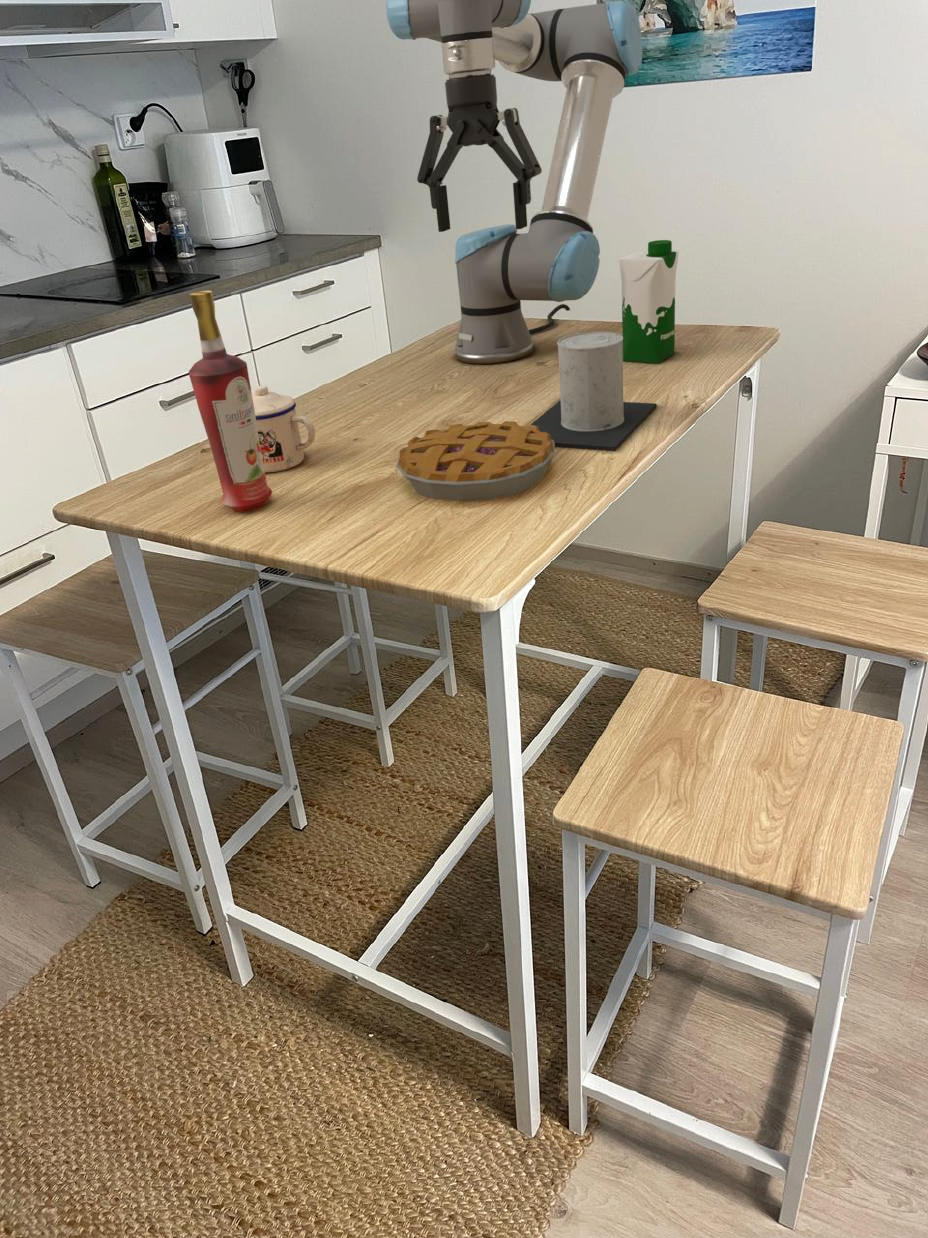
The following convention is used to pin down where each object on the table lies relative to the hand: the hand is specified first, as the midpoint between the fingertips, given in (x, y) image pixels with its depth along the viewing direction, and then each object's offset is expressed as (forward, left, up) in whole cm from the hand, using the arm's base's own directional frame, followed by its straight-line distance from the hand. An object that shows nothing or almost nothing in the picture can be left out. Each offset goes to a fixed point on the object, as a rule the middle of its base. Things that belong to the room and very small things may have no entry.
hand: (482, 229), depth 149 cm
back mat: (+12, +21, -27) cm, 36 cm away
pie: (+35, +14, -27) cm, 46 cm away
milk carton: (-26, +19, -27) cm, 42 cm away
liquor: (+52, -13, -27) cm, 60 cm away
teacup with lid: (+37, -18, -27) cm, 49 cm away
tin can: (+12, +22, -26) cm, 36 cm away
